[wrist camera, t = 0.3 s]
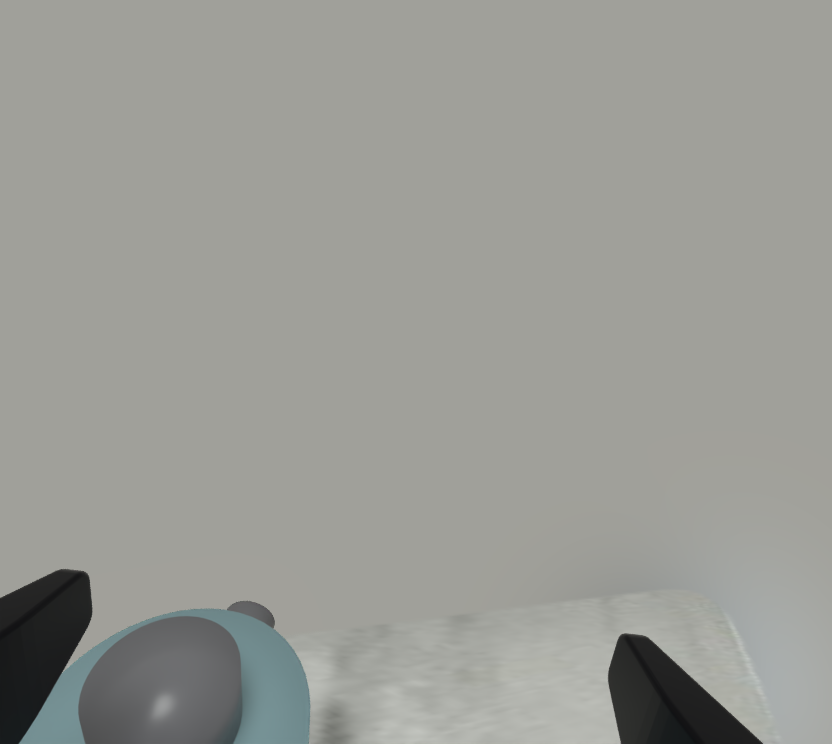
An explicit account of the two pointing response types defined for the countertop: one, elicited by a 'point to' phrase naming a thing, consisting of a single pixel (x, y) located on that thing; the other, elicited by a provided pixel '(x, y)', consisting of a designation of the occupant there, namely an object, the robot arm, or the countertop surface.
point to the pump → (182, 685)
